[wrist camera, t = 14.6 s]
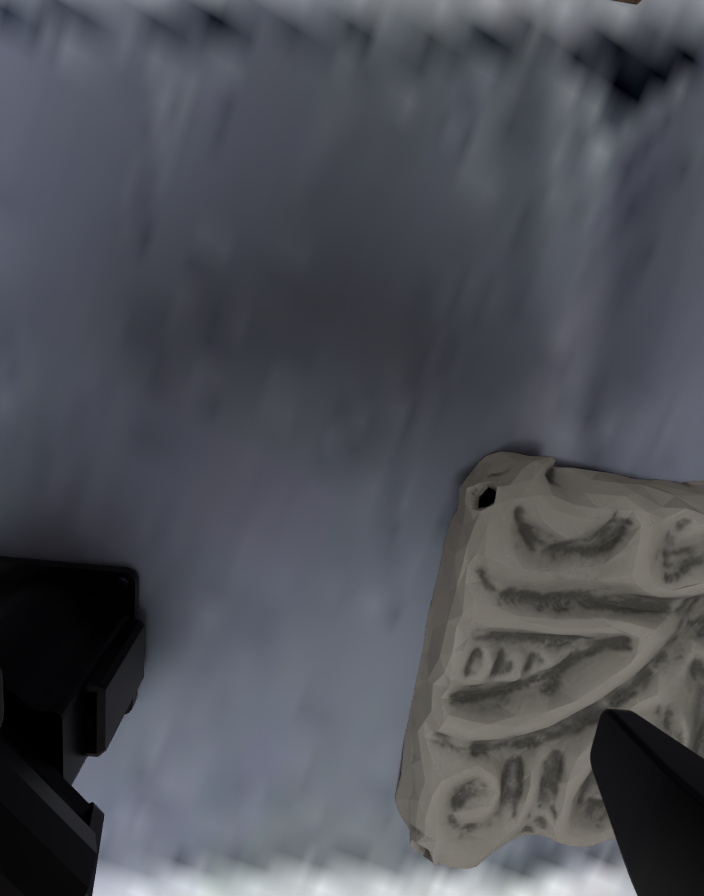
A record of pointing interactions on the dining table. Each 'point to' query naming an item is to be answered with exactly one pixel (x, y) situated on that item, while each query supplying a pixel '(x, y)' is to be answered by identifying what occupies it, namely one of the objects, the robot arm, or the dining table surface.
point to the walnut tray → (630, 1)
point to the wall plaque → (549, 651)
